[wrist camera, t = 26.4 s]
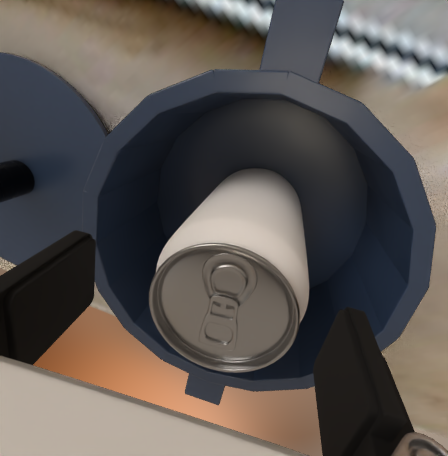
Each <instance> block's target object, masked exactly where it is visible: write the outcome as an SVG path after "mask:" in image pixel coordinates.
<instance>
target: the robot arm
mask: <svg viewBox="0 0 448 456" xmlns="http://www.w3.org/2000/svg"><path fill="white" fill-rule="evenodd" d="M95 253H96V241H95V239H93V237H92V235H91V234H89V233H85V232H81V231H78V230H75V231H73V232H71V233H69V234H68V235H66V236H64V237H63V238H61V239H60V240H58V241H56V242H55V243H53V244H51V245H50V246H48V247H47V248H45V249H43V250H42V251H40V252H38V253H37V254H35V255H34V256H32V257H30V258H29V259H27V260H25V261H24V262H22V263H21V264H19V265H17V266H16V267H14V268H12V269H11V270H9V271H8V272H6V273H4V274H3V275H1V276H0V456H308V455H306V454H303V453H300V452H297V451H294V450H291V449H289V448H286V447H283V446H280V445H277V444H274V443H271V442H268V441H265V440H262V439H259V438H256V437H253V436H250V435H247V434H244V433H241V432H238V431H235V430H232V429H228V428H226V427H223V426H219V425H217V424H213V423H210V422H207V421H204V420H201V419H198V418H195V417H192V416H189V415H186V414H183V413H180V412H177V411H173V410H171V409H168V408H164V407H162V406H158V405H155V404H152V403H149V402H146V401H143V400H140V399H137V398H133V397H131V396H127V395H124V394H121V393H118V392H115V391H112V390H109V389H106V388H103V387H100V386H96V385H93V384H90V383H87V382H83V381H81V380H78V379H74V378H71V377H68V376H64V375H62V374H59V373H55V372H52V371H49V370H46V369H43V368H39V367H36V366H34V365H33V364H34V363H35V362H36V361H37V360H38V359H39V358H40V357H41V356H42V355H43V354H44V353H45V352H46V351H47V349H48V348H49V347H50V346H51V345H52V344H53V343H54V342H55V341H56V340H57V339H58V338H59V337H60V336H61V335H62V334H63V333H64V331H65V330H66V329H67V328H68V327H69V326H70V325H71V324H72V323H73V322H74V321H75V320H76V319H77V318H78V317H79V316H80V315H81V314H82V313H83V312H84V311H85V309H86V308H87V307H88V306H89V305H90V304H91V302H92V301H93V298H94V282H95ZM313 375H314V384H315V392H316V401H317V409H318V418H319V427H320V436H321V444H322V453H323V456H448V451H447V450H446V449H445V448H444V447H443V446H442V445H440V444H439V443H438V442H436V441H435V440H434V439H432V438H430V437H428V436H426V435H424V434H420V433H416V432H415V431H414V429H413V426H412V424H411V422H410V419H409V417H408V414H407V412H406V409H405V407H404V404H403V402H402V399H401V397H400V394H399V392H398V389H397V387H396V384H395V382H394V379H393V377H392V374H391V372H390V369H389V367H388V364H387V362H386V360H385V358H384V357H383V356H382V354H381V351H380V349H379V346H378V344H377V341H376V339H375V336H374V334H373V331H372V329H371V326H370V324H369V321H368V319H367V316H366V314H365V312H364V311H361V310H358V309H354V308H351V307H346V308H345V309H344V310H343V309H340V310H339V312H338V314H337V316H336V318H335V320H334V322H333V324H332V326H331V328H330V331H329V333H328V335H327V337H326V339H325V341H324V343H323V345H322V347H321V350H320V352H319V354H318V356H317V358H316V360H315V363H314V367H313Z"/></svg>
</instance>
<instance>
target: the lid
mask: <svg viewBox="0 0 448 456" xmlns="http://www.w3.org/2000/svg"><path fill="white" fill-rule="evenodd" d="M107 135H108V133H107V131H106V129H105V127H104V126H103V124H102V122H101V121H100V119H99V118H98V116H97V114H96V113H95V112H94V110H93V109H92V108H91V106H90V105H89V104H88V103H87V101H86V100H85V99H84V98H83V97H82V96H81V95H80V94H79V93H78V92H77V91H76V90H75V89H74V87H72V86H71V85H70V84H69V83H68V82H66V81H65V80H64V79H63V78H62V77H60V76H59V75H57V74H56V73H54V72H53V71H51V70H50V69H48V68H47V67H45V66H43V65H41V64H39V63H37V62H35V61H33V60H30V59H27V58H24V57H21V56H18V55H13V54H7V53H1V52H0V257H2V258H3V259H5V260H7V261H9V262H11V263H13V264H15V265H19V264H21V263H22V262H24V261H25V260H27V259H29V258H30V257H32V256H34V255H35V254H37V253H38V252H40V251H42V250H43V249H45V248H47V247H48V246H50V245H51V244H53V243H55V242H56V241H58V240H60V239H61V238H63V237H64V236H66V235H68V234H69V233H71V232H73V231H75V230H78V231H81V232H82V215H83V190H84V187H85V185H86V182H87V180H88V177H89V175H90V172H91V170H92V168H93V165H94V163H95V160H96V158H97V155H98V153H99V151H100V148H101V146H102V143H103V141H104V140H105V137H106V136H107Z"/></svg>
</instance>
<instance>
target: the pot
mask: <svg viewBox="0 0 448 456" xmlns="http://www.w3.org/2000/svg"><path fill="white" fill-rule="evenodd" d="M343 3H344V1H343V0H276V1H275V5H274V9H273V14H272V18H271V22H270V27H269V31H268V35H267V39H266V44H265V48H264V52H263V57H262V61H261V65H260V70H232V69H215V70H210V71H207V72H205V73H202V74H199V75H197V76H194V77H192V78H189V79H187V80H184V81H182V82H179V83H177V84H174V85H172V86H169V87H167V88H164V89H162V90H159V91H157V92H154V93H152V94H150V95H148V96H146V97H145V98H144V99H143V100H142V101H141V102H140V103H139V104H138V105H137V106H136V107H135V108H134V109H133V110H132V111H131V112H130V113H129V114H128V115H127V116H126V117H125V118H124V119H123V120H122V121H121V122H120V123H119V124H118V125H117V126H116V127H115V128H114V129H113V130H112V131H111V132H110V133H109V134H108V135H107V136H106V137H105V140H104V141H103V143H102V146H101V148H100V151H99V153H98V155H97V158H96V160H95V163H94V165H93V168H92V170H91V172H90V175H89V177H88V180H87V182H86V185H85V187H84V190H83V215H82V232H85V233H89V234H91V235H92V237H93V239H95V241H96V253H95V283H96V286H97V288H98V291H99V292H100V294H101V295H102V297H103V298H104V300H105V301H106V302H107V304H108V305H109V307H110V308H111V310H112V311H113V313H114V314H115V315H116V317H117V318H118V320H119V321H120V323H121V324H122V326H123V327H124V328H125V329H126V330H127V331H128V332H129V333H130V334H132V335H133V336H134V337H135V338H136V339H138V340H139V341H140V342H141V343H142V344H144V345H145V346H146V347H147V348H148V349H149V350H150V351H152V352H153V353H154V354H155V355H156V356H158V357H159V358H160V359H161V360H162V359H163V361H165V362H167V363H169V364H171V365H173V366H175V367H177V368H179V369H181V370H183V371H186V372H187V373H189V376H188V380H187V385H186V389H185V394H188V395H190V396H193V397H196V398H199V399H202V400H205V401H208V402H211V403H214V404H216V405H219V404H220V400H221V397H222V394H223V391H224V387H225V386H229V387H234V388H240V389H244V390H249V391H275V390H294V389H308V388H310V387H313V386H315V384H314V375H313V367H314V363H315V360H316V358H317V356H318V354H319V352H320V350H321V347H322V345H323V343H324V341H325V339H326V337H327V335H328V333H329V331H330V328H331V326H332V324H333V322H334V320H335V318H336V316H337V314H338V312H339V310H340V309H343V310H344V309H345V308H346V307H351V308H354V309H358V310H361V311H364V312H365V314H366V316H367V319H368V321H369V324H370V326H371V329H372V331H373V334H374V336H375V339H376V341H377V344H378V346H379V349H380V351H383V350H384V349H385V348H387V347H388V346H389V345H390V344H392V343H393V342H394V341H396V340H397V339H398V337H400V335H401V334H402V332H403V330H404V329H405V327H406V325H407V324H408V322H409V320H410V319H411V317H412V315H413V314H414V312H415V310H416V309H417V307H418V305H419V304H420V302H421V300H422V298H423V297H424V295H425V293H426V292H427V290H428V288H429V282H430V274H431V266H432V257H433V249H434V241H435V232H436V223H435V220H434V217H433V214H432V211H431V208H430V205H429V202H428V199H427V196H426V193H425V190H424V187H423V184H422V181H421V178H420V175H419V171H418V168H417V165H416V162H415V160H414V158H413V157H412V156H411V155H410V154H409V153H408V151H407V150H406V149H405V148H404V147H403V146H402V145H401V144H400V143H399V142H398V141H397V140H396V138H395V137H394V136H393V135H392V134H391V133H390V132H389V131H388V130H387V129H386V128H385V127H384V126H383V124H382V123H381V122H380V121H379V120H378V119H377V118H376V117H375V116H374V115H373V114H372V113H371V111H370V110H369V109H368V108H367V107H366V106H365V105H364V104H362V103H361V102H360V101H357V100H355V99H353V98H351V97H348V96H346V95H344V94H341V93H339V92H337V91H335V90H332V89H330V88H328V87H326V86H323V85H321V84H319V81H320V78H321V74H322V71H323V68H324V65H325V61H326V58H327V55H328V52H329V48H330V45H331V42H332V39H333V36H334V32H335V29H336V26H337V23H338V19H339V16H340V13H341V10H342V6H343ZM250 168H260V169H267V170H271V171H274V172H276V173H278V174H279V175H281V176H282V177H283V178H285V179H286V180H287V181H288V182H289V183H290V184H291V185H292V187H293V188H294V190H295V191H296V193H297V195H298V198H299V201H300V205H301V211H302V219H303V227H304V236H305V245H306V255H307V265H308V276H309V299H308V305H307V309H306V312H305V315H304V317H303V319H302V321H301V322H300V324H299V330H298V333H297V336H296V338H295V341H294V342H293V344H292V346H291V347H290V349H289V350H288V351H287V352H286V353H285V354H284V355H283V356H282V357H281V358H280V359H278V360H277V361H276V362H274V363H272V364H270V365H268V366H266V367H264V368H261V369H258V370H254V371H249V372H238V373H233V372H222V371H217V370H213V369H209V368H206V367H203V366H201V365H198V364H196V363H194V362H192V361H190V360H189V359H187V358H185V357H184V356H182V355H181V354H180V353H178V352H177V351H176V350H175V349H174V348H172V347H171V346H170V345H169V344H168V343H167V341H166V340H165V339H164V338H163V336H162V335H161V334H160V332H159V331H158V329H157V327H156V325H155V323H154V321H153V318H152V315H151V311H150V306H149V291H150V286H151V282H152V279H153V277H154V275H155V273H156V267H157V263H158V259H159V256H160V254H161V252H162V250H163V248H164V247H165V245H166V243H167V242H168V240H169V239H170V238H171V237H172V235H173V234H174V233H175V232H176V231H177V230H178V229H179V227H180V226H181V225H182V224H183V223H184V222H185V221H186V220H187V219H188V217H189V216H190V215H191V214H192V213H193V212H194V211H195V210H196V209H197V208H198V207H199V206H200V204H201V203H202V202H203V201H204V200H205V199H206V198H207V197H208V196H209V195H210V194H211V193H212V192H213V191H214V189H215V188H216V187H217V186H218V185H219V184H220V183H221V182H222V181H223V180H225V179H226V178H227V177H228V176H230V175H231V174H233V173H235V172H237V171H240V170H243V169H250Z"/></svg>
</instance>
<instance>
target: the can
mask: <svg viewBox="0 0 448 456" xmlns="http://www.w3.org/2000/svg"><path fill="white" fill-rule="evenodd" d="M308 299H309V276H308V265H307V255H306V245H305V236H304V227H303V219H302V211H301V205H300V201H299V198H298V195H297V193H296V191H295V190H294V188H293V187H292V185H291V184H290V183H289V182H288V181H287V180H286V179H285V178H283V177H282V176H281V175H279V174H278V173H276V172H274V171H271V170H267V169H260V168H250V169H243V170H240V171H237V172H235V173H233V174H231V175H230V176H228V177H227V178H226V179H225V180H223V181H222V182H221V183H220V184H219V185H218V186H217V187H216V188H215V189H214V191H213V192H212V193H211V194H210V195H209V196H208V197H207V198H206V199H205V200H204V201H203V202H202V203H201V204H200V206H199V207H198V208H197V209H196V210H195V211H194V212H193V213H192V214H191V215H190V216H189V217H188V219H187V220H186V221H185V222H184V223H183V224H182V225H181V226H180V227H179V229H178V230H177V231H176V232H175V233H174V234H173V235H172V237H171V238H170V239H169V240H168V242H167V243H166V245H165V247H164V248H163V250H162V252H161V254H160V256H159V259H158V263H157V267H156V273H155V275H154V277H153V279H152V282H151V286H150V291H149V306H150V311H151V315H152V318H153V321H154V323H155V325H156V327H157V329H158V331H159V332H160V334H161V335H162V336H163V338H164V339H165V340H166V341H167V343H168V344H169V345H170V346H171V347H172V348H174V349H175V350H176V351H177V352H178V353H180V354H181V355H182V356H184V357H185V358H187V359H189V360H190V361H192V362H194V363H196V364H198V365H201V366H203V367H206V368H209V369H213V370H217V371H222V372H233V373H238V372H249V371H254V370H258V369H261V368H264V367H266V366H268V365H270V364H272V363H274V362H276V361H277V360H278V359H280V358H281V357H282V356H283V355H284V354H285V353H286V352H287V351H288V350H289V349H290V347H291V346H292V344H293V342H294V341H295V338H296V336H297V333H298V330H299V324H300V322H301V321H302V319H303V317H304V315H305V312H306V309H307V305H308Z"/></svg>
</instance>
